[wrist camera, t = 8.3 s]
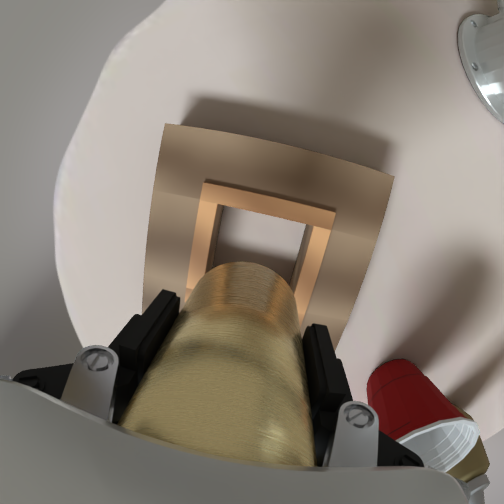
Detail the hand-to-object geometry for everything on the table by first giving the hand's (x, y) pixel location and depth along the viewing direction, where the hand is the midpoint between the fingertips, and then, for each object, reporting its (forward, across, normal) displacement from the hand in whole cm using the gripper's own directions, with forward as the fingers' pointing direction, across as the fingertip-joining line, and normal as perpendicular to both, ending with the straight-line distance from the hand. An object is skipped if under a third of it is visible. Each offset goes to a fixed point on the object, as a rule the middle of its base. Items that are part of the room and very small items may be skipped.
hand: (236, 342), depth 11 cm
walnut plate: (+13, 0, 0) cm, 13 cm away
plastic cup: (+13, -17, +11) cm, 24 cm away
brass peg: (+2, 0, 0) cm, 2 cm away
